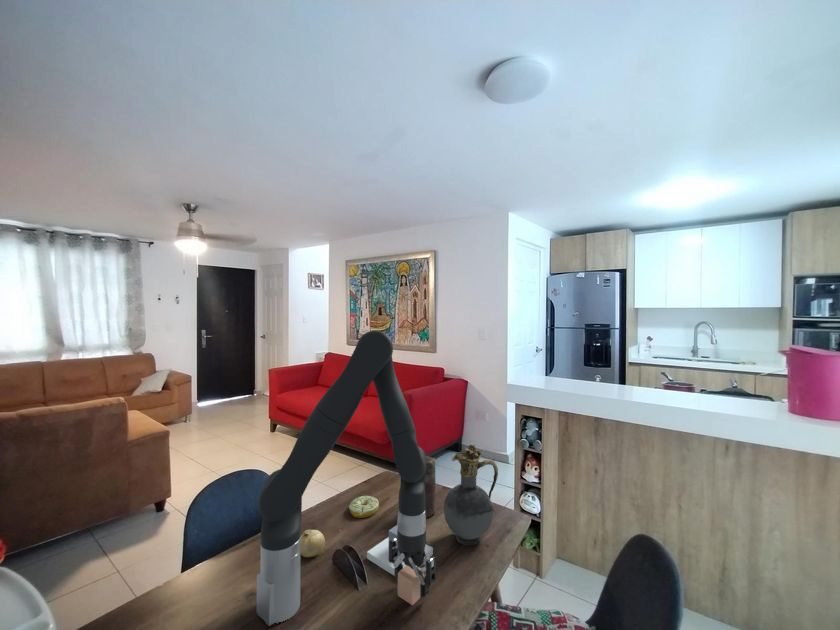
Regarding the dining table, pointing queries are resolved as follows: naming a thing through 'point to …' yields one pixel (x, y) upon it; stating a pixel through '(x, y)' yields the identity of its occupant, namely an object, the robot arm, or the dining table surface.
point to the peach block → (409, 585)
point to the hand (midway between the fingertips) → (411, 588)
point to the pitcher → (469, 500)
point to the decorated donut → (364, 506)
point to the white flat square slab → (381, 555)
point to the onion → (311, 543)
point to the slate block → (393, 535)
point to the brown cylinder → (430, 487)
